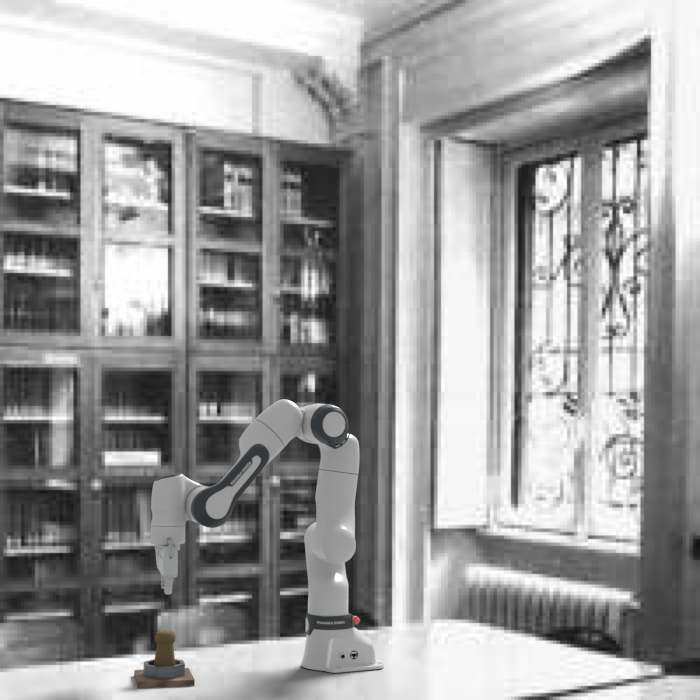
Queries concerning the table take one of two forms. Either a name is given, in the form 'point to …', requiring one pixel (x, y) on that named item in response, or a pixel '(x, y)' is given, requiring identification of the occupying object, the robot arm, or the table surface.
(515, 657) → the table surface
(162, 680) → the walnut base
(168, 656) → the cork
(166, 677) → the metal collar
